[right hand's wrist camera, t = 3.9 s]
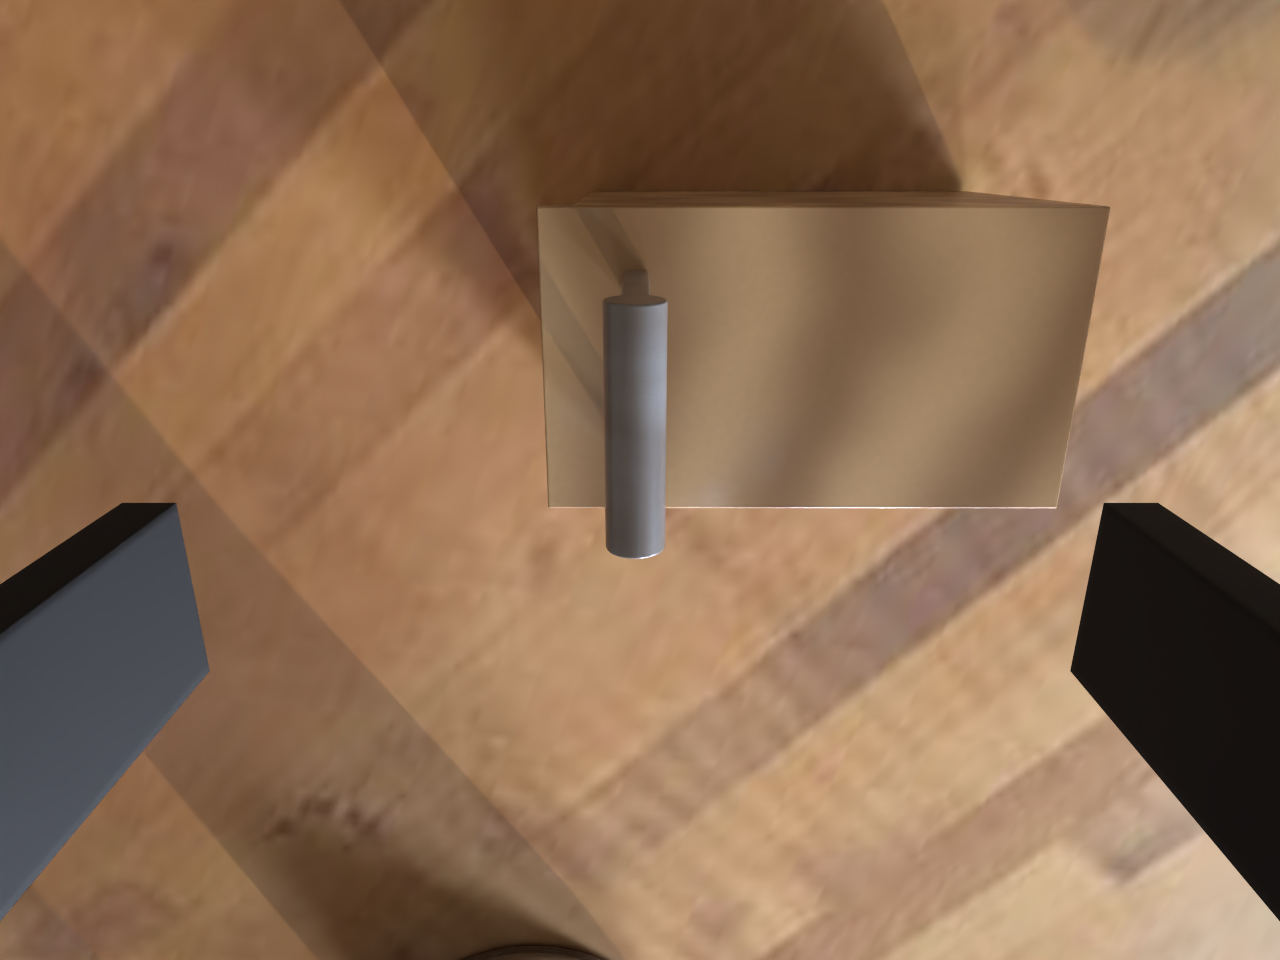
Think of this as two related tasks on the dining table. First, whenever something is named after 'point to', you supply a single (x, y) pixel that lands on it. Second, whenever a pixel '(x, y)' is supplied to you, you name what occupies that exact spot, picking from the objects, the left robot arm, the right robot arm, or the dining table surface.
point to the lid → (810, 356)
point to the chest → (807, 198)
